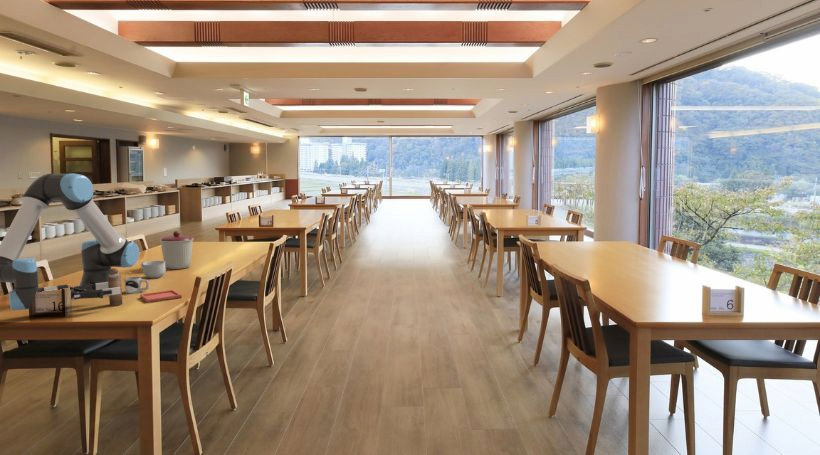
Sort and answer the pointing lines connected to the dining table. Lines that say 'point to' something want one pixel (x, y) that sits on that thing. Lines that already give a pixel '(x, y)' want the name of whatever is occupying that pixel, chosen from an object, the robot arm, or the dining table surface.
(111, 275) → the pepper mill
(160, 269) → the teacup
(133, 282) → the mug
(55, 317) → the dining table surface
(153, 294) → the tray
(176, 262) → the canister
